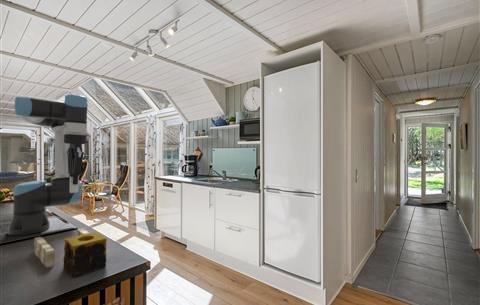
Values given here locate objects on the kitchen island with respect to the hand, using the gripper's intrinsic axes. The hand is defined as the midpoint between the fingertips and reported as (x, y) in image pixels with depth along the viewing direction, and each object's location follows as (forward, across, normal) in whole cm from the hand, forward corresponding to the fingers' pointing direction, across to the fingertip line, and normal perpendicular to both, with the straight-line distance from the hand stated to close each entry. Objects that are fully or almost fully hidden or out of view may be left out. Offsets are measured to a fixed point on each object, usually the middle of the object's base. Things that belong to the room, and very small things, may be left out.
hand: (74, 192), depth 97 cm
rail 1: (+22, +6, -10) cm, 25 cm away
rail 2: (+22, +5, +4) cm, 23 cm away
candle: (+22, +23, -3) cm, 32 cm away
